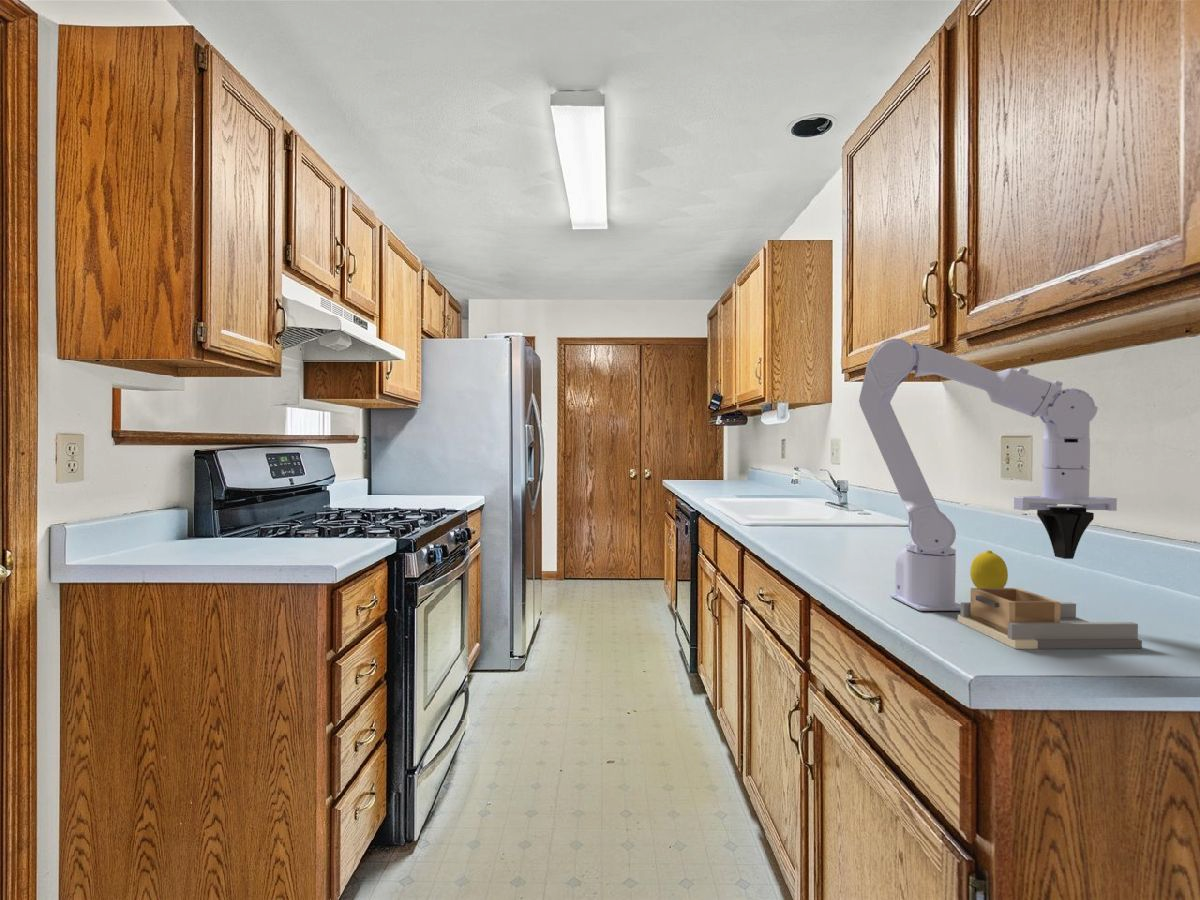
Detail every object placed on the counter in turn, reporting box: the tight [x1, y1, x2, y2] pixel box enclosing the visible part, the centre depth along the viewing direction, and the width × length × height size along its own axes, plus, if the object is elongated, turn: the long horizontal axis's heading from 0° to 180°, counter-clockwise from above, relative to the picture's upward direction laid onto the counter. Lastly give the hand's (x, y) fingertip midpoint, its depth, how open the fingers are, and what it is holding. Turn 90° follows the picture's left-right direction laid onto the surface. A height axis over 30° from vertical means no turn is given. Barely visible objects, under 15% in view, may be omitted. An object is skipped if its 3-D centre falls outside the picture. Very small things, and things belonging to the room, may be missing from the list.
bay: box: [957, 601, 1143, 650], centre depth 85 cm, size 12×17×3 cm
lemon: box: [969, 549, 1009, 588], centre depth 106 cm, size 6×6×8 cm
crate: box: [970, 587, 1061, 635], centre depth 85 cm, size 8×8×4 cm
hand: (1063, 557), depth 92 cm, fingers closed
